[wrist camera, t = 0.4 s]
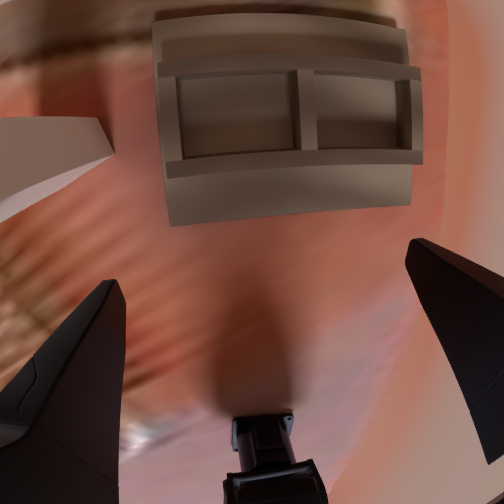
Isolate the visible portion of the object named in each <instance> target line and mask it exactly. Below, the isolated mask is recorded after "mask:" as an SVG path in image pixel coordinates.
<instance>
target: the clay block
mask: <svg viewBox="0 0 504 504" xmlns="http://www.w3.org/2000/svg"><path fill="white" fill-rule="evenodd" d="M113 155H115V153H114V151H113V149H112V147H111V145H110V143H109V141H108V139H107V137H106V135H105V133H104V131H103V129H102V126H101V124H100V122H99V120H98V118H95V117H64V116H33V117H3V118H0V223H1V222H3V221H4V220H6V219H8V218H9V217H11V216H13V215H14V214H16V213H18V212H20V211H21V210H23V209H25V208H27V207H28V206H30V205H32V204H34V203H36V202H38V201H39V200H41V199H43V198H45V197H47V196H49V195H51V194H53V193H54V192H56V191H58V190H60V189H62V188H63V187H65V186H66V185H68V184H69V183H71V182H72V181H74V180H75V179H77V178H78V177H80V176H81V175H83V174H84V173H86V172H87V171H89V170H90V169H92V168H94V167H95V166H97V165H98V164H100V163H102V162H103V161H105V160H107V159H108V158H110V157H112V156H113Z"/></svg>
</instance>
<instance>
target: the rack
mask: <svg viewBox="0 0 504 504" xmlns="http://www.w3.org/2000/svg"><path fill="white" fill-rule="evenodd" d="M152 41H153V64H154V81H155V96H156V109H157V121H158V132H159V142H160V151H161V160H162V169H163V178H164V186H165V193H166V201H167V208H168V215H169V222H170V227H173V226H181V225H190V224H199V223H207V222H216V221H226V220H235V219H245V218H255V217H265V216H275V215H286V214H297V213H308V212H320V211H332V210H345V209H358V208H372V207H386V206H402V205H410V203H411V187H412V164H414V165H423V107H422V87H421V73H420V68H418V67H413V66H409V55H408V46H407V38H406V30H403V29H399V28H395V27H390V26H385V25H380V24H375V23H369V22H363V21H357V20H350V19H343V18H335V17H326V16H315V15H302V14H283V13H235V14H216V15H203V16H192V17H183V18H175V19H168V20H161V21H155V22H152Z"/></svg>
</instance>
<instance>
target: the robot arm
mask: <svg viewBox="0 0 504 504" xmlns="http://www.w3.org/2000/svg"><path fill="white" fill-rule="evenodd" d="M405 266H406V269H407V271H408V274H409V276H410V278H411V281H412V283H413V285H414V288H415V290H416V293H417V295H418V298H419V300H420V302H421V305H422V307H423V309H424V311H425V313H426V315H427V317H428V319H429V321H430V323H431V325H432V327H433V329H434V331H435V333H436V335H437V337H438V339H439V341H440V343H441V345H442V347H443V350H444V352H445V354H446V356H447V358H448V361H449V363H450V365H451V367H452V369H453V372H454V374H455V377H456V379H457V381H458V384H459V386H460V388H461V390H462V393H463V396H464V398H465V401H466V403H467V406H468V408H469V410H470V414H471V417H472V419H473V422H474V425H475V428H476V431H477V433H478V436H479V439H480V442H481V445H482V448H483V451H484V455H485V458H486V461H487V463H488V465H490V464H491V463H493V462H494V461H496V460H497V459H499V458H500V457H501V456H503V455H504V277H502V276H500V275H498V274H496V273H494V272H492V271H490V270H489V269H487V268H485V267H483V266H481V265H479V264H476V263H475V262H473V261H471V260H468V259H466V258H464V257H462V256H460V255H458V254H456V253H454V252H452V251H450V250H448V249H445V248H443V247H441V246H439V245H437V244H435V243H433V242H430V241H428V240H426V239H424V238H417V239H412V240H411V241H410V243H409V246H408V250H407V254H406V258H405ZM125 353H126V302H125V299H124V296H123V294H122V291H121V289H120V286H119V283H118V282H117V280H115V279H109V280H103V281H102V282H101V283H100V284H99V285H98V286H97V287H96V288H95V289H94V290H93V291H92V292H91V293H90V294H89V295H88V296H87V297H86V298H85V299H84V300H83V301H82V302H81V303H80V304H79V305H78V306H77V307H76V308H75V310H74V311H73V312H72V313H71V314H70V315H69V316H68V317H67V318H66V319H65V320H64V321H63V322H62V323H61V325H60V326H59V327H58V328H57V329H56V330H55V331H54V332H53V333H52V334H51V336H50V337H49V338H48V339H47V340H46V341H45V342H44V343H43V345H42V346H41V347H40V348H39V349H38V350H37V351H36V353H35V354H34V355H33V357H31V358H30V359H29V361H28V362H27V363H26V364H25V365H24V366H23V368H22V369H21V370H20V371H19V372H18V373H17V374H16V376H15V377H14V378H13V379H12V380H11V381H10V382H9V383H8V384H7V385H6V386H5V387H4V389H3V390H2V391H1V392H0V504H119V486H118V463H119V430H120V411H121V397H122V385H123V374H124V364H125ZM293 421H294V416H293V414H280V415H269V416H256V417H239V418H235V419H233V438H232V449H233V451H234V452H239V458H240V465H241V472H239V473H227V479H226V480H224V481H223V489H224V504H328V498H327V493H326V489H325V486H324V484H323V481H322V479H321V477H320V475H319V473H318V470H317V468H316V466H315V464H314V462H313V459H308V460H307V461H303V462H298V463H296V459H295V456H294V452H293V449H292V445H291V442H290V438H289V437H290V433H291V429H292V425H293ZM487 504H504V492H503V493H502V494H500V495H499V496H497V497H496V498H494V499H493V500H491V501H490V502H488V503H487Z"/></svg>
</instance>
